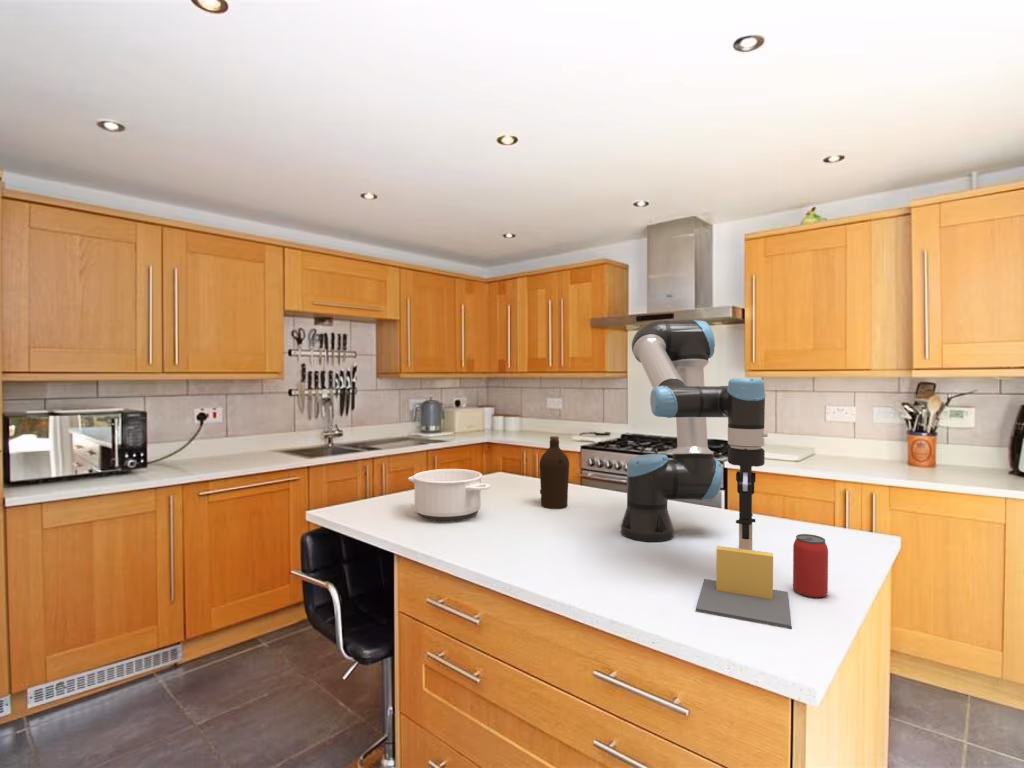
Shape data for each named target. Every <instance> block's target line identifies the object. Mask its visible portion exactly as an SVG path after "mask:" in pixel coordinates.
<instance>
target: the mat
mask: <svg viewBox="0 0 1024 768" xmlns="http://www.w3.org/2000/svg"><path fill="white" fill-rule="evenodd" d="M695 612H698V613H705V614H710V615H714V616H720V617H724V618H729V619H737V620H741V621H748V622H754V623H759V624H764V625H769V626H774V627H780V628H785V629H791V630H793V629H792V618H791V609H790V599H789V591H785V590H779V589H773V599H767V598H761V597H755V596H749V595H743V594H737V593H731V592H725V591H719V590H716V580H715V579H710V578H709V579H708V578H704V579H703V582H702V585H701V589H700V592H699V595H698V599H697V603H696V605H695Z"/></svg>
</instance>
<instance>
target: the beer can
mask: <svg viewBox="0 0 1024 768" xmlns="http://www.w3.org/2000/svg"><path fill="white" fill-rule="evenodd" d="M792 553H793V555H792V561H793V562H792V587H793V590H794V591H795V592H796V593H797V594H800V595H802V596H805V597H808V598H814V599H815V598H818V599H819V598H824V597H826V596H827V595H828V593H829V590H828V587H829V549H828V545H827V542H826V539H825V538H824V537H822V536H819V535H817V534H811V533H809V534H808V533H799V534H796V536H795V540H794V542H793V549H792Z"/></svg>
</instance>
